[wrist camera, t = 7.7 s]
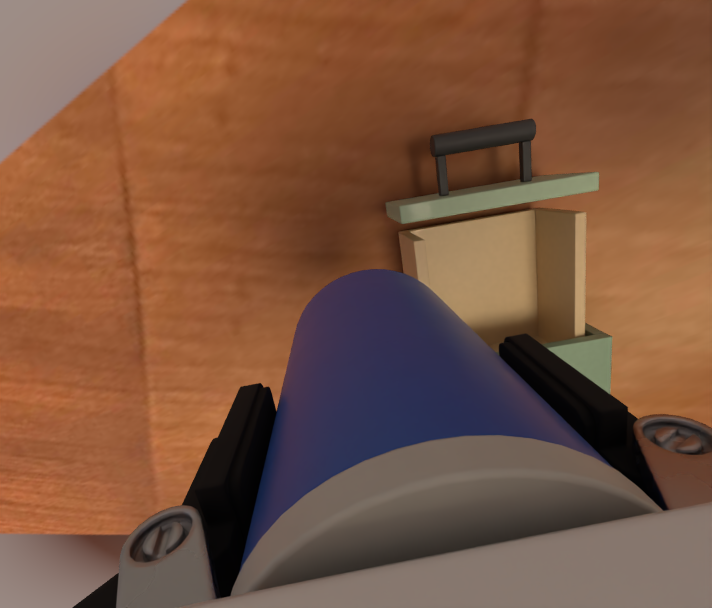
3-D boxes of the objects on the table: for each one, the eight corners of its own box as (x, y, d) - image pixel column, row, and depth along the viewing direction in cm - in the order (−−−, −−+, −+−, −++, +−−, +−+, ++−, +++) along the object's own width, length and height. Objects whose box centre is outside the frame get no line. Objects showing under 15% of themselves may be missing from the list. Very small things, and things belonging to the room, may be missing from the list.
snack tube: (275, 284, 14) (134, 539, 4) (446, 253, 15) (750, 419, 4) (310, 432, 16) (278, 870, 6) (461, 403, 16) (697, 782, 6)
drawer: (378, 149, 31) (390, 138, 24) (544, 121, 31) (601, 103, 24) (406, 361, 36) (423, 399, 30) (548, 336, 36) (595, 369, 30)
